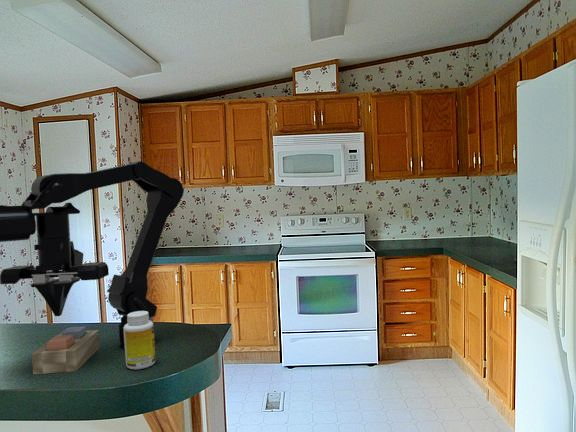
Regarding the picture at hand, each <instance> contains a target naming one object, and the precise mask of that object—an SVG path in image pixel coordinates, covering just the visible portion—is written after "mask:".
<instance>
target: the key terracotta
mask: <svg viewBox="0 0 576 432" xmlns="http://www.w3.org/2000/svg"><path fill="white" fill-rule="evenodd" d="M46 343H47V351H52V350H65V349H69V348H70V347H71V346H72V345H74V335H64V336H57V335H54V336H53V337H52V338H50V339H48V341H46Z"/></svg>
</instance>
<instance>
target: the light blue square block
mask: <svg viewBox="0 0 576 432" xmlns="http://www.w3.org/2000/svg"><path fill="white" fill-rule="evenodd" d="M86 331H87V329H86V326H85V325H83V326H72V327H67V328H65V329H64V330H63V331H62V332H60V333H61V336H64V335H74V339H81V338H82V337H83V336H84V335H86Z"/></svg>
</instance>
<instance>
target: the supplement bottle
mask: <svg viewBox="0 0 576 432" xmlns="http://www.w3.org/2000/svg"><path fill="white" fill-rule="evenodd" d="M154 329H155V327H154V322H152V321H150V320H149V314H148V312H147V311H136V312H132V313H129V314H128V315H127V324H126V325H125V326H124V345H125V347H124V357H125V366H126V367H127V368H128V369H130V370H142V369H146V368H149V367H151V366H153V365H154V364H155V363H156V361H157V360H156V347H155V346H156V343H155V338H154V335H155V331H154Z"/></svg>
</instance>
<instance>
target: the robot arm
mask: <svg viewBox="0 0 576 432" xmlns="http://www.w3.org/2000/svg"><path fill="white" fill-rule="evenodd" d="M130 181H132V182H134V183H135V184H136V185H137V186H138V187H139V188H140V190H142V191H144V192H145V193H147V196H146V209H147V212H146V215H145V217H144V220H143V223H142V225H141V228H140V231H139V232H138V233H139V234H138V236H137V240H136V241H135V245H134V247H133V250H132V253H131V256H130V258H129V260H128V263H127V266H126V268H125V270H124V271H123V272H122V273H121V274H120V275H119V274H113V275H112V278H111V283H110V285H109V288H108V289H107V291H106V292H107V293H108V297H107V299H108V303H109V304H110V306H111V307H112V308H113V309H115V310H116V312H117V314H118V316H122V317H120V323H119V325H118V333H119V343H120V345H119V348H121V349H122V348H125V345H124V326H125V325H126V324H127V315H128V314H129V313H132V312H136V311H147V312H148V314H149V320H150V321H152V322H153V317H155V316H156V313H157V310H158V307H157V305H155V304H154V303H153V302H151V301H150V300H149V299H147V297H148V296H147V295H148V292H149V291H148V290H149V285H148V283H149V282H148V273H149V270H150V268H151V264H152V261H153V259H154V256H155V253H156V251H157V247H158V246H159V242H160V240H161V236H162V233H163V232H164V228H165V226H166V222H167V219H168V217H169V216H170V215H171V214H172V212H174V210H175V209H176V208H177V207H178V206H179V204H180V202H181V201H182V198H183V196H184V192H185V188H184V186H183V184H182V182H181V181H180V180H179V179H177V178H175V177H170V176H168V174H166V173H164V172H162V171H160V170H157V169H155V168H153V167H151V166H150V165H148V164H147V163H145V162H144V161H141V160H139V161H133V162H129V163H127V164H124V165H118V166H114V167H110V168H103V169H99V170H94V171H90V172H89V171H88V172H84V173H83V172H82V173H81V172H80V173H78V172H77V173H75V172H74V173H71V172H70V173H69V172H68V173H65V172H64V173H50V174H46V175H42V176H41V175H40V176H39V177H37V178H35V179H34V181H33V182H32V183H31V187H30V191H31V192H30V193H29V194H28V196H27V197H26V198H25V200H24V201H23V202H22V204H20V205H3V204H0V243H4V242H5V243H6V242H15V241H16V242H18V241H19V242H20V241H28V240H30V238H31V236H32V235H33V236H34V235H35V234H36V237H37V244H34V245H33V246H34V251H37V253H38V254H37V256H38V265H35V266H34V265H33V264H32V265H29V264H28V265H15V266H10V267H7V268H4V269H2V270H1V272H0V285H12V284H13V285H15V284H18V283H19V282H20V281H21V280H26V279H29V280H31V279H32V283H31V284H30V287H31V288H35V289H36V290H37V291H38V292H39V293H40V295H41V296H42V298H43V299H44V301H45V302H46V304H47V305H48V307H49V309H50V310H51V311H52V313H53V316H54V317H60V316H62V315H63V311H64V308H65V305H66V302H67V299H68V295H69V293H70V292H71V288H72V287H73V286H74V284H75V283H78V282H80V281H95V280H96V281H97V280H101V279H103V278H105V277H107V276H109V274H110V273H109V266H108V264H107V263H106V261H97V262H96V261H95V262H86V263H84V253H83V252H81V251H80V250H78V249H76V248H75V244H74V241H73V240H71V233H70V231H71V230H70V215H77V214H80V213H81V210H80V209H78V208H77V207H75V205H73V203H72V202H66V201H68V200H71V199H73V198H75V197H77V196H79V195H82V194H83V193H86V192H87V191H90V190H91V191H92V190H95V189H100V188H104V187H108V186H113V185H117V184H121V183H122V184H123V183H126V182H130ZM64 202H65V204H64V205H63V206H61V205H60V206H50V205H52V204H61V203H64ZM38 209H39V210H42V209H46V210H45V212H33V210H38ZM153 323H154V322H153ZM156 337H157V336H156V334H154V339H155V338H156Z"/></svg>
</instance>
